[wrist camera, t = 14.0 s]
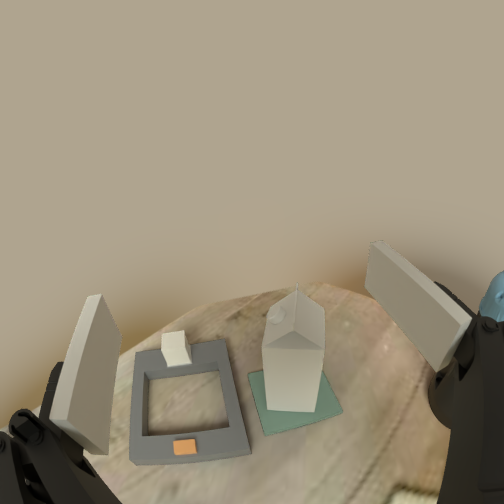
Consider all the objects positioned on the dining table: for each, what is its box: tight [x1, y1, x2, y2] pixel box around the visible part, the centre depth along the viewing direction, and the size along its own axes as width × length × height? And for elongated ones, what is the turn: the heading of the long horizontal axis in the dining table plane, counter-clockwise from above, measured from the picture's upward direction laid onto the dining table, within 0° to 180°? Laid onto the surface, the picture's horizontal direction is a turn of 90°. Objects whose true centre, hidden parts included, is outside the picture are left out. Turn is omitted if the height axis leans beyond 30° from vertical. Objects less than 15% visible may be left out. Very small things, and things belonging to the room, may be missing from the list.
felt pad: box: [248, 370, 343, 436], centre depth 40 cm, size 12×12×1 cm
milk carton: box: [262, 282, 325, 412], centre depth 35 cm, size 7×7×19 cm
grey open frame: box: [129, 330, 251, 465], centre depth 38 cm, size 17×22×7 cm
